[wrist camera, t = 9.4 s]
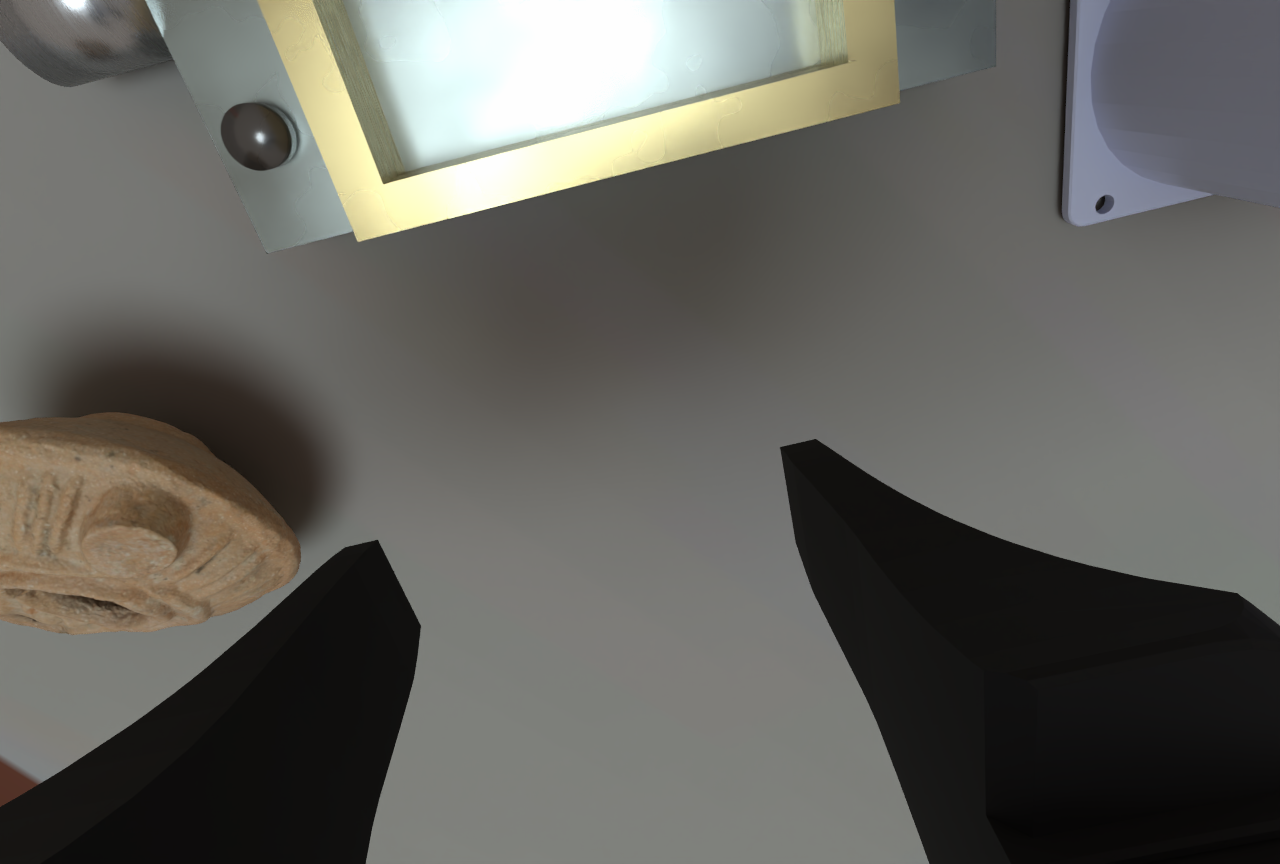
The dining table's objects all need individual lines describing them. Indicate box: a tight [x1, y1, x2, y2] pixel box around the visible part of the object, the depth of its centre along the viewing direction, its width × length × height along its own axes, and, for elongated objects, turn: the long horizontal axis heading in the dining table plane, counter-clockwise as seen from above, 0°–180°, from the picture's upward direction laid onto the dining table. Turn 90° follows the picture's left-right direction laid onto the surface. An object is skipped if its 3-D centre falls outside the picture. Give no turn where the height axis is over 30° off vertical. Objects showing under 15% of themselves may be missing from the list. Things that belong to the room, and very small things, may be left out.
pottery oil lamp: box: [0, 412, 301, 635], centre depth 20 cm, size 9×12×7 cm
